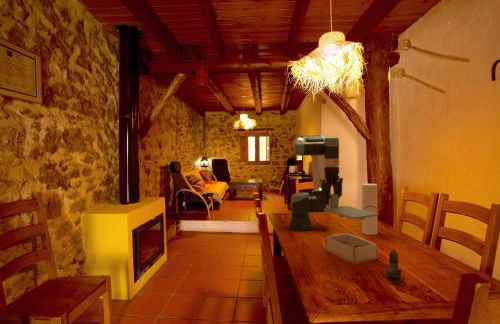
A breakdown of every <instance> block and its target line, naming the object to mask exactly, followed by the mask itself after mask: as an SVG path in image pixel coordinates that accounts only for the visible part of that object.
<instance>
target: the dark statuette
mask: <svg viewBox="0 0 500 324" xmlns="http://www.w3.org/2000/svg"><path fill="white" fill-rule="evenodd" d="M388 261H389V266H387V267H385V271H386V274H387V276H386V279H387V281H389V282H393V283H400V282H402V278H400V277H401V276H402V273H403V270H402V269H401V268H399V262H400V261H399V253H398V252H397V251H395V249H394V248H393V249H392V250H390V251H389V259H388Z"/></svg>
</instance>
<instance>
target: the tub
mask: <svg viewBox="0 0 500 324" xmlns="http://www.w3.org/2000/svg"><path fill="white" fill-rule="evenodd" d="M324 238H325V239H324V241H325V242H324V246H325V251H326V252H328V253H330V254H332V255H335V256H337V257H338V258H340V259H342V260H344V261H346V262H347V263H350V264H352V265H358V264H363V263H367V262H371V261H376V260H378V243H375V242H371V241H370V240H367V239H364V238H361V237H359V236H355V235H353V234H351V233H347V232H344V233H338V234H334V235H333V234H332V235H328V236H327V235H326V236H324ZM336 240H340V241H344V242H345V244H343V243H341V242H339V241H336ZM355 245H364V246H362V247H357V248H355Z"/></svg>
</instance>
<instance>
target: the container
mask: <svg viewBox="0 0 500 324" xmlns="http://www.w3.org/2000/svg"><path fill="white" fill-rule="evenodd" d="M361 207H362V208H361V210H365V211H369V212H373V213H377V214H378V183H362V184H361ZM361 221H362V223H361V225H362V227H361V229H362V234H364V235H367V236H377V235H378V231H379V230H378V216H373V217H366V218H364V220H361Z"/></svg>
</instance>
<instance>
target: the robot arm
mask: <svg viewBox="0 0 500 324" xmlns="http://www.w3.org/2000/svg"><path fill="white" fill-rule="evenodd" d="M291 143H292V144H291V145H292V146H291V147H292V149H293V150H294V155H295V156H297V157H298V156H299V157H301V156H302V157H303V156H310V157H311V166H312V167H311V169H312V187H313V190H312V191H311V194H310V193H309V192H303V191H302V192H297V193H294V194H292V195H291V198H290V199H291V201H290V203H291V216H290V220H289V224H288V228H289V229H290V230H291V231H292V230H293V231H296V232H298V231H299V232H307V231H311V230H313V224H312V221H311V218H310V213H323V214H324V213H329V212H328V211H325V210H323V209H324V208H331V199H329V197H330V193H331V190H332V191H333V194H338V204H340V203H339V199H340V198H341V197H343V181H344V178H343V177H340V175H339V174H340V167H339V166H340V140H339V138H338V137H336V136H335V137H334V136H333V137H332V136H331V137H330V136H329V137H326V135H324V134H323V135H322V134H317V135H316V134H315V135H300V136H297V137H296V138H294V139H293V140H292V142H291Z"/></svg>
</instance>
